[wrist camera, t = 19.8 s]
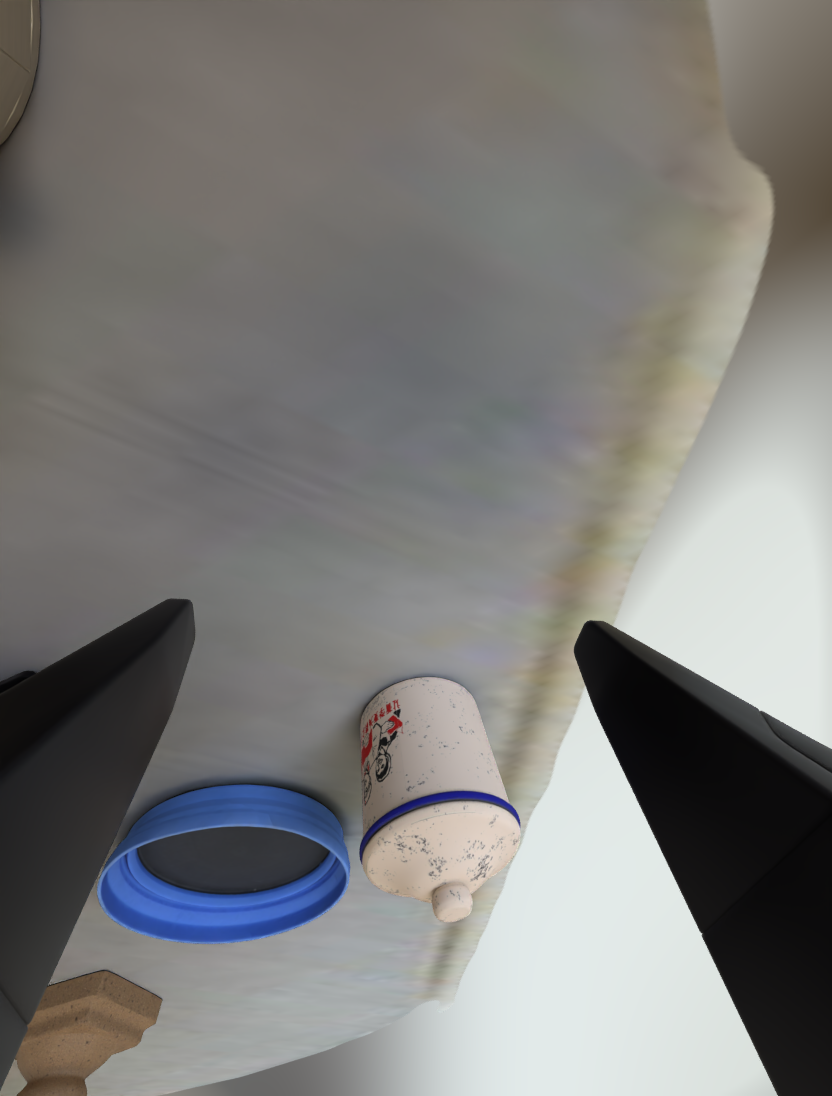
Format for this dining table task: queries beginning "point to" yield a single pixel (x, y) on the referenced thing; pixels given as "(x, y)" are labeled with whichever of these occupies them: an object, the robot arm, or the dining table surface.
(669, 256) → the dining table surface
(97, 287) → the dining table surface
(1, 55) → the pot
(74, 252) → the dining table surface
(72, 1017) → the candle holder
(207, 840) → the bowl
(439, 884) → the teacup with lid
